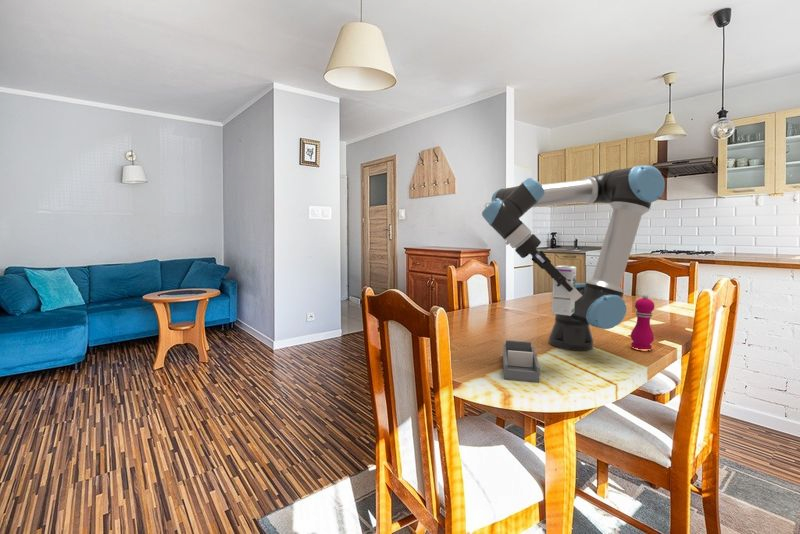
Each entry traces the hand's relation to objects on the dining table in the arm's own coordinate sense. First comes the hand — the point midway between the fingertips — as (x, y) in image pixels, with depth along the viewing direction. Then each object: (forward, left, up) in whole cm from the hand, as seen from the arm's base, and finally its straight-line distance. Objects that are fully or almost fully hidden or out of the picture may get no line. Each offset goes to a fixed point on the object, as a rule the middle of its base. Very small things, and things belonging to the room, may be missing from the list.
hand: (576, 296), depth 124 cm
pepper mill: (-28, -27, -23) cm, 46 cm away
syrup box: (+3, 0, -6) cm, 7 cm away
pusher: (+16, +3, -22) cm, 27 cm away
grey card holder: (+16, +5, -23) cm, 28 cm away
